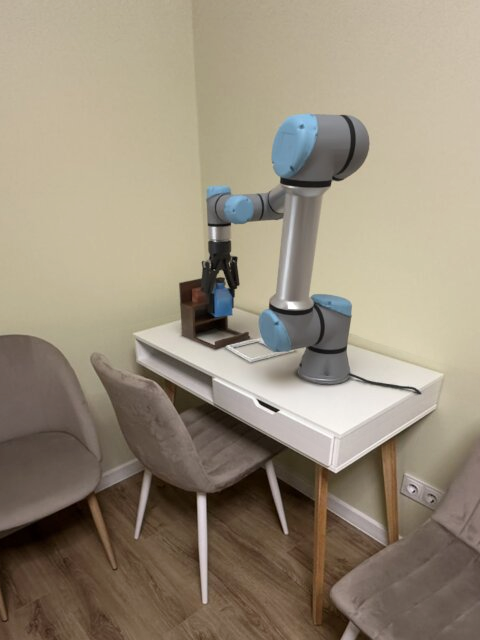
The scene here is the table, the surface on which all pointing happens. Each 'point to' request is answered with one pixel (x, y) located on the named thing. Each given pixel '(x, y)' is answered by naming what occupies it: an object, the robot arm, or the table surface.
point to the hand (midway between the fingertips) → (220, 310)
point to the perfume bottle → (222, 299)
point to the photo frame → (230, 347)
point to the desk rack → (202, 316)
